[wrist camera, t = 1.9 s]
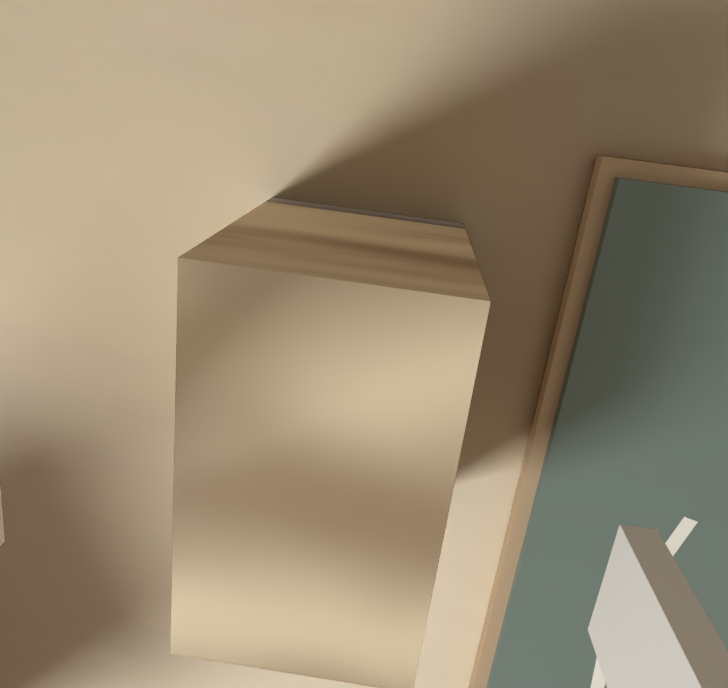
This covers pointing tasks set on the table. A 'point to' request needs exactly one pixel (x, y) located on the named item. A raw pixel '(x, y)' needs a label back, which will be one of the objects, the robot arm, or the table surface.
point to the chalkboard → (621, 423)
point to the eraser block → (319, 436)
